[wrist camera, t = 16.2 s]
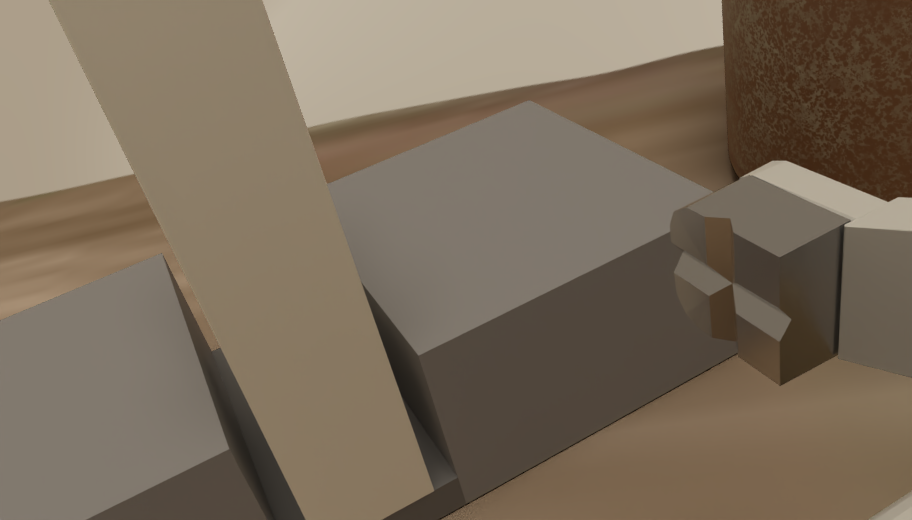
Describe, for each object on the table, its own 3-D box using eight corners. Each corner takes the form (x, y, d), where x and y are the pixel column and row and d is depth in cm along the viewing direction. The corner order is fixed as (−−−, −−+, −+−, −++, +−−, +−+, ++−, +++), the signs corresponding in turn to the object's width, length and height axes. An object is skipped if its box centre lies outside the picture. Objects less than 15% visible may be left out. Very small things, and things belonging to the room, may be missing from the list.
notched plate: (353, 364, 25) (164, -131, 17) (434, 491, 20) (219, -121, 12) (261, 409, 24) (19, -89, 16) (321, 552, 19) (18, -62, 11)
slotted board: (551, 221, 31) (529, 100, 28) (738, 352, 23) (731, 201, 20) (-47, 500, 25) (-147, 381, 22) (-80, 808, 17) (-243, 681, 14)
